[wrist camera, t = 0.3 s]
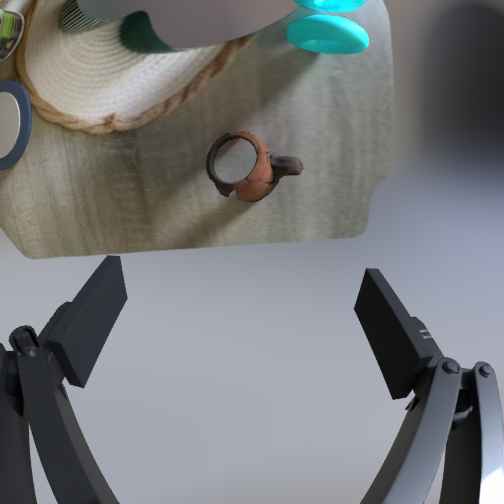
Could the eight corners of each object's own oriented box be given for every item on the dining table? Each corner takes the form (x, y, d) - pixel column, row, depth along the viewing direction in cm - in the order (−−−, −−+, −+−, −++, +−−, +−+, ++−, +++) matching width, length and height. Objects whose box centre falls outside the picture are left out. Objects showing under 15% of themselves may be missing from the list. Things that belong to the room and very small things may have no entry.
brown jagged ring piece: (227, 209, 42) (201, 203, 34) (223, 148, 42) (198, 131, 34) (310, 199, 39) (301, 189, 31) (302, 134, 38) (291, 111, 31)
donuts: (281, 50, 31) (292, 31, 23) (282, -9, 27) (293, -39, 18) (352, 60, 32) (382, 48, 23) (351, 2, 27) (378, -21, 18)
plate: (-21, 92, 28) (-24, 92, 27) (34, 69, 29) (30, 69, 28) (-19, 172, 36) (-22, 174, 35) (33, 164, 37) (29, 166, 36)
